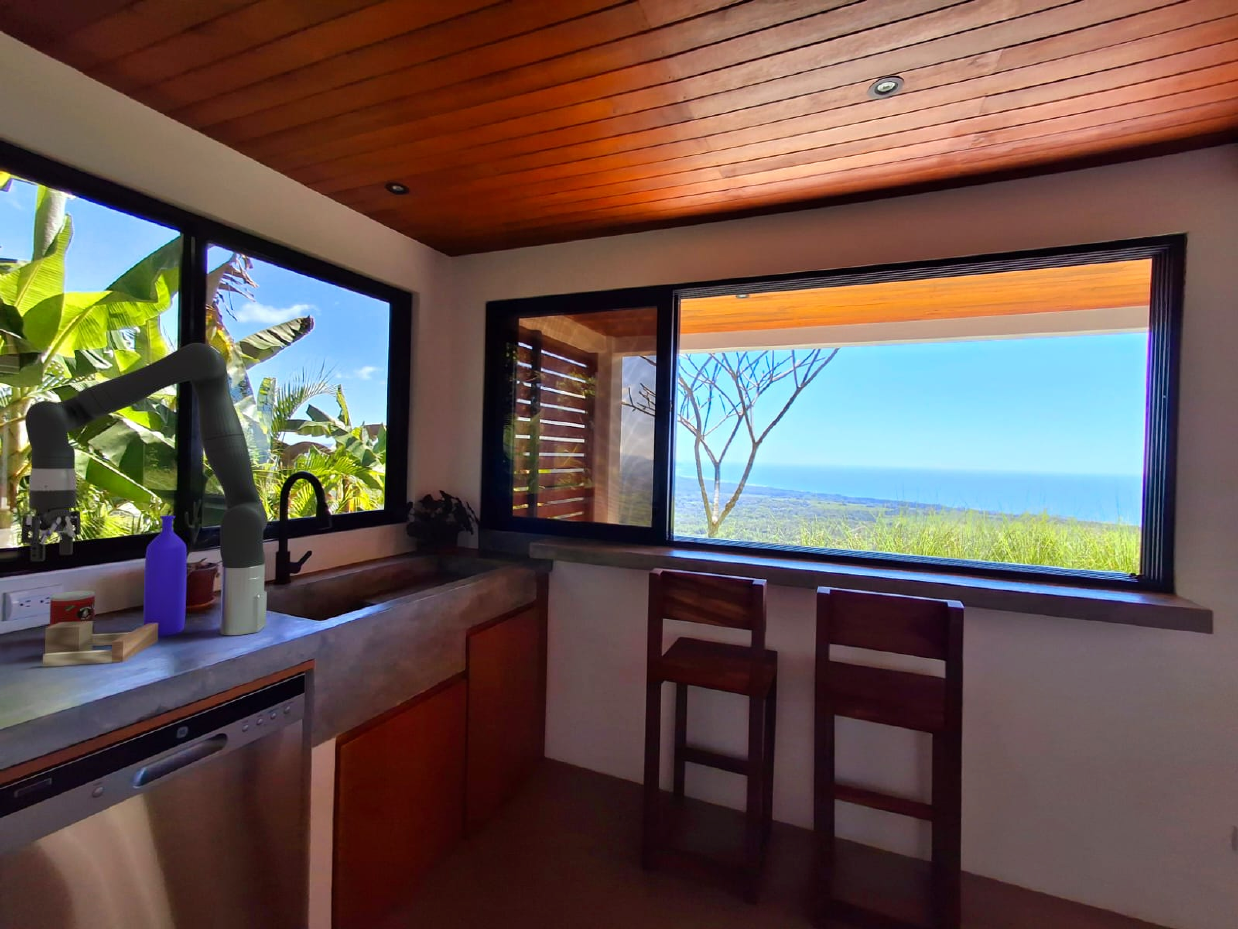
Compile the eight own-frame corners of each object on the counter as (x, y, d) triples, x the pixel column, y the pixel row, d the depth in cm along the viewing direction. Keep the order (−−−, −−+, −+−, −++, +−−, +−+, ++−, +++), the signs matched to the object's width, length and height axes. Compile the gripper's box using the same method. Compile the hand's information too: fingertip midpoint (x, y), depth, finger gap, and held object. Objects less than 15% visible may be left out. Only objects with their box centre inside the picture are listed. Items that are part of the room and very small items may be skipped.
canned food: (65, 646, 127) (66, 599, 127) (39, 642, 128) (41, 596, 128) (102, 636, 134) (103, 592, 134) (77, 633, 136) (79, 589, 136)
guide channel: (157, 641, 131) (158, 622, 131) (122, 661, 118) (123, 641, 118) (87, 645, 127) (87, 626, 127) (42, 666, 114) (43, 645, 114)
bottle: (191, 630, 140) (195, 515, 140) (153, 639, 133) (156, 518, 133) (174, 625, 144) (177, 513, 144) (135, 634, 136) (139, 516, 136)
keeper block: (91, 651, 124) (92, 620, 124) (78, 658, 120) (79, 626, 120) (59, 653, 122) (60, 622, 122) (44, 660, 118) (45, 628, 118)
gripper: (49, 489, 119) (48, 563, 119) (94, 486, 132) (93, 552, 132) (6, 489, 117) (6, 564, 117) (56, 486, 130) (55, 553, 131)
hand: (52, 557), depth 125 cm, fingers open, 8 cm apart
